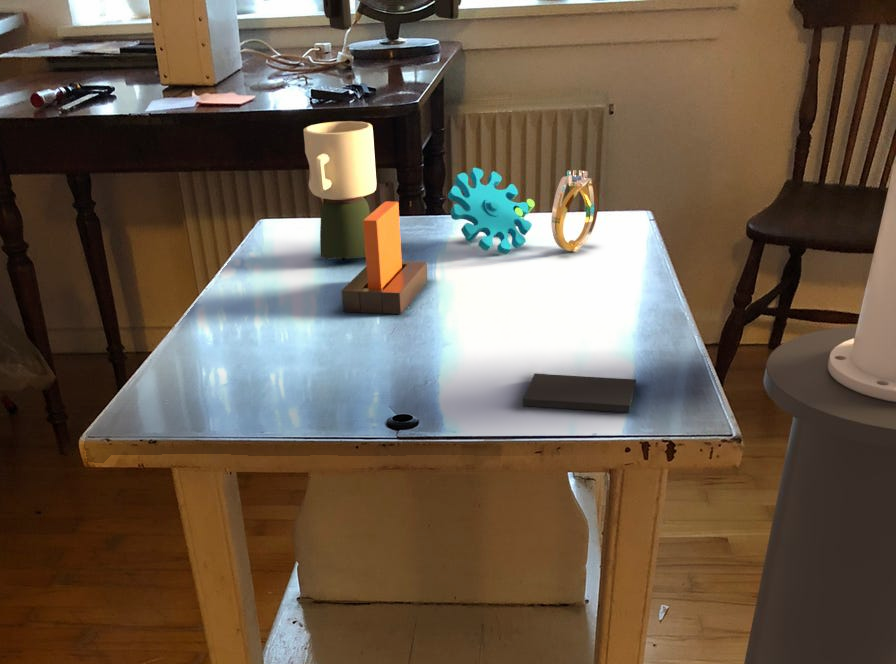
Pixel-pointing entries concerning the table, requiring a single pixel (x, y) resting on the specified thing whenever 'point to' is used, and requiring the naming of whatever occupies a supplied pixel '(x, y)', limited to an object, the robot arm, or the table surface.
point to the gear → (490, 211)
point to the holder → (385, 291)
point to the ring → (561, 210)
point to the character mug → (341, 183)
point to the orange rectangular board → (382, 245)
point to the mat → (580, 393)
